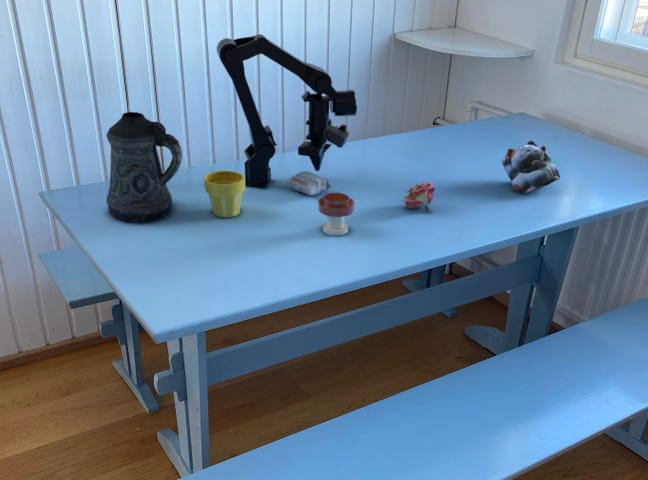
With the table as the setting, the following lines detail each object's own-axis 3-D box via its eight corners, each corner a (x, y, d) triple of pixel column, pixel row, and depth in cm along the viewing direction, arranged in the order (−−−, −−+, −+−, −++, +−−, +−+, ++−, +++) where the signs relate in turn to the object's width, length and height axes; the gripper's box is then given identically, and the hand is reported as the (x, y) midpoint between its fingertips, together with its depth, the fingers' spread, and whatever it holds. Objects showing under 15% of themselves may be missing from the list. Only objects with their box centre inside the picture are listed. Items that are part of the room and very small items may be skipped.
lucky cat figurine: (516, 196, 211) (504, 148, 208) (506, 197, 223) (495, 151, 220) (566, 181, 211) (555, 132, 208) (553, 182, 223) (543, 136, 220)
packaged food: (311, 201, 202) (312, 184, 199) (281, 189, 208) (281, 172, 205) (333, 193, 208) (333, 176, 205) (302, 182, 214) (303, 165, 211)
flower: (445, 201, 202) (433, 174, 200) (438, 207, 194) (425, 179, 192) (414, 216, 206) (402, 190, 205) (406, 222, 198) (393, 195, 197)
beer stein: (104, 202, 196) (88, 107, 181) (176, 193, 203) (167, 101, 188) (113, 227, 184) (97, 127, 169) (190, 217, 190) (182, 120, 176)
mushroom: (313, 234, 185) (313, 201, 180) (323, 220, 193) (324, 188, 187) (347, 240, 184) (348, 207, 179) (357, 225, 191) (358, 193, 186)
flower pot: (208, 204, 198) (205, 169, 192) (247, 204, 199) (245, 169, 193) (205, 220, 189) (202, 184, 184) (245, 220, 190) (244, 184, 185)
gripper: (337, 130, 196) (335, 185, 205) (355, 111, 211) (352, 163, 220) (297, 124, 198) (297, 180, 207) (318, 106, 213) (317, 158, 222)
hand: (317, 170), depth 214 cm, fingers closed
